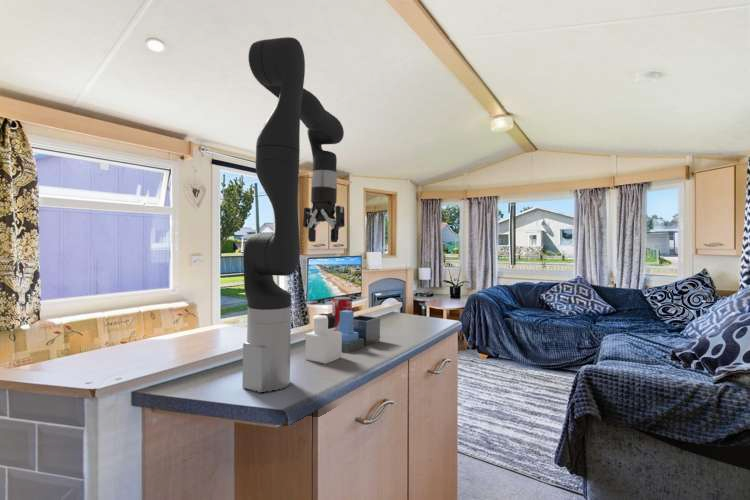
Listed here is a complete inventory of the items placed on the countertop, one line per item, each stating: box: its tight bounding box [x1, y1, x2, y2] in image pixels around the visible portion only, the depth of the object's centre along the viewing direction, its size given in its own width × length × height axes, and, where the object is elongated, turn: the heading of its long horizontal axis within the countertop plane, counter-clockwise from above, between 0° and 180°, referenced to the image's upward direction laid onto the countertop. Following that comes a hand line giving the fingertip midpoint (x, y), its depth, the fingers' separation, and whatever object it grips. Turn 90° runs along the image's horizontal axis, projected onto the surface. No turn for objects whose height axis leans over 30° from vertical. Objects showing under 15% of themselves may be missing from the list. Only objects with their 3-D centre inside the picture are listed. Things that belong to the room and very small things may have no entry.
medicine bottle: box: [304, 313, 342, 365], centre depth 105 cm, size 7×7×12 cm
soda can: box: [331, 296, 353, 332], centre depth 139 cm, size 7×7×12 cm
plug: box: [340, 310, 358, 343], centre depth 116 cm, size 5×5×10 cm
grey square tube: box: [353, 314, 381, 347], centre depth 124 cm, size 8×8×8 cm
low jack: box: [341, 338, 365, 354], centre depth 116 cm, size 8×8×2 cm
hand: (322, 241), depth 115 cm, fingers open, 8 cm apart
